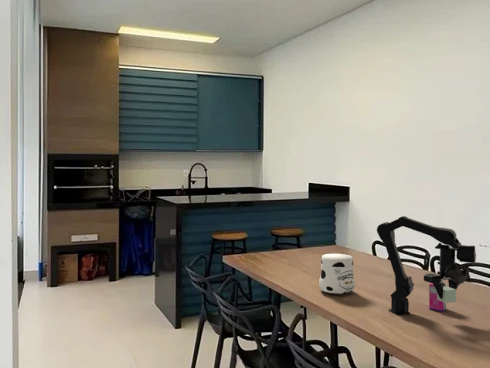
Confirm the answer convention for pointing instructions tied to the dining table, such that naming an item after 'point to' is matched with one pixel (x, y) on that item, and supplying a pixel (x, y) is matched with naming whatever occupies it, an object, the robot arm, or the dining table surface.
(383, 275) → the dining table surface
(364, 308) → the dining table surface
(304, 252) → the dining table surface
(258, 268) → the dining table surface
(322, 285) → the milk container
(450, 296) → the sage cube
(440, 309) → the supplement box
